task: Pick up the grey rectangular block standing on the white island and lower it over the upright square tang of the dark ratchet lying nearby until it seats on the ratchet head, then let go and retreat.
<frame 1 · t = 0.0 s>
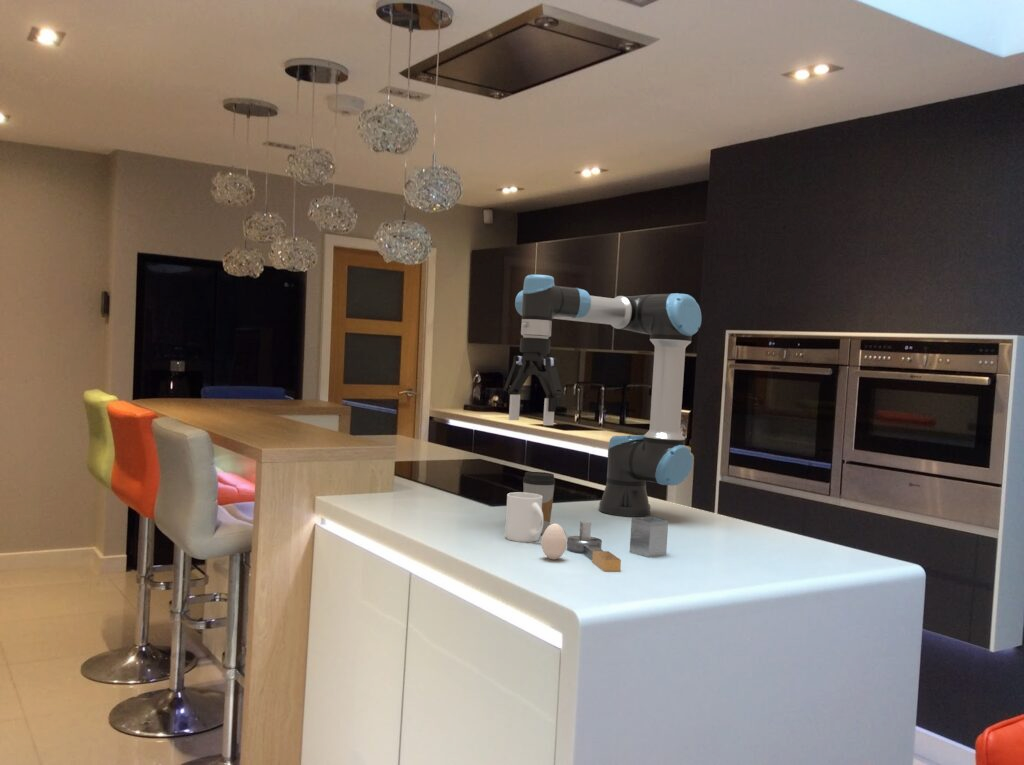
hand: (530, 422, 212), 28 cm above the countertop, fingers open, 13 cm apart
ratchet: (583, 550, 199), on the countertop
coffee cup: (536, 533, 216), on the countertop
grey rectangular block: (647, 553, 199), on the countertop
egg: (552, 560, 188), on the countertop
mug: (526, 541, 206), on the countertop
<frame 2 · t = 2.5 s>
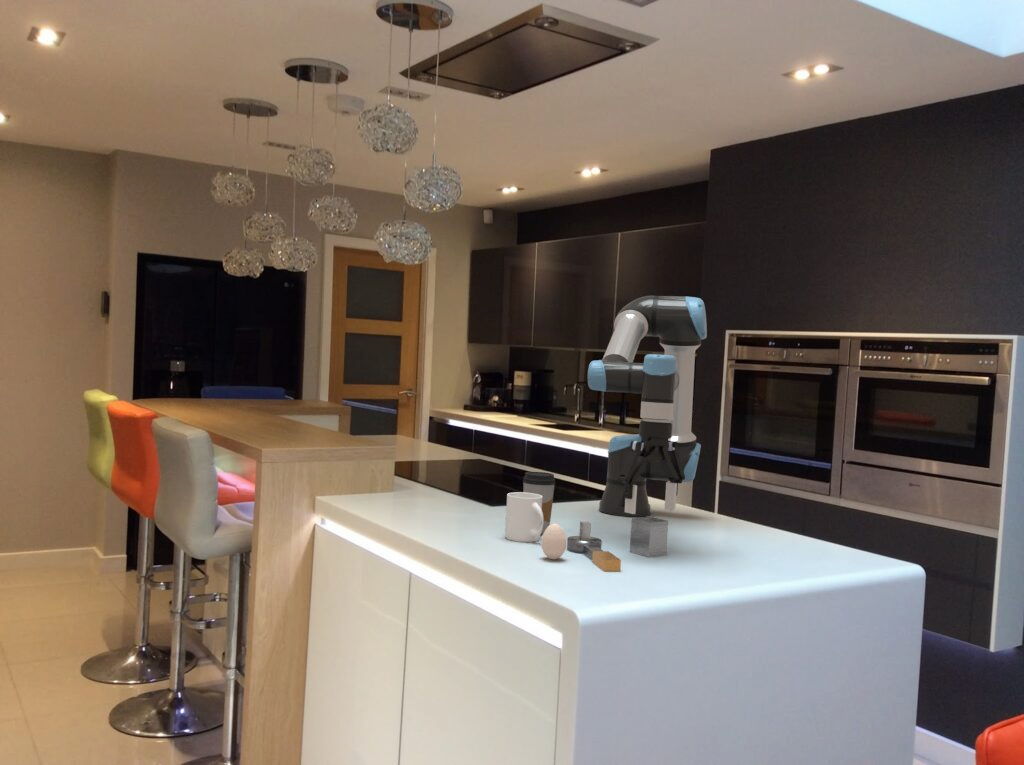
hand: (650, 511, 199), 10 cm above the countertop, fingers open, 13 cm apart
nothing on the countertop moved.
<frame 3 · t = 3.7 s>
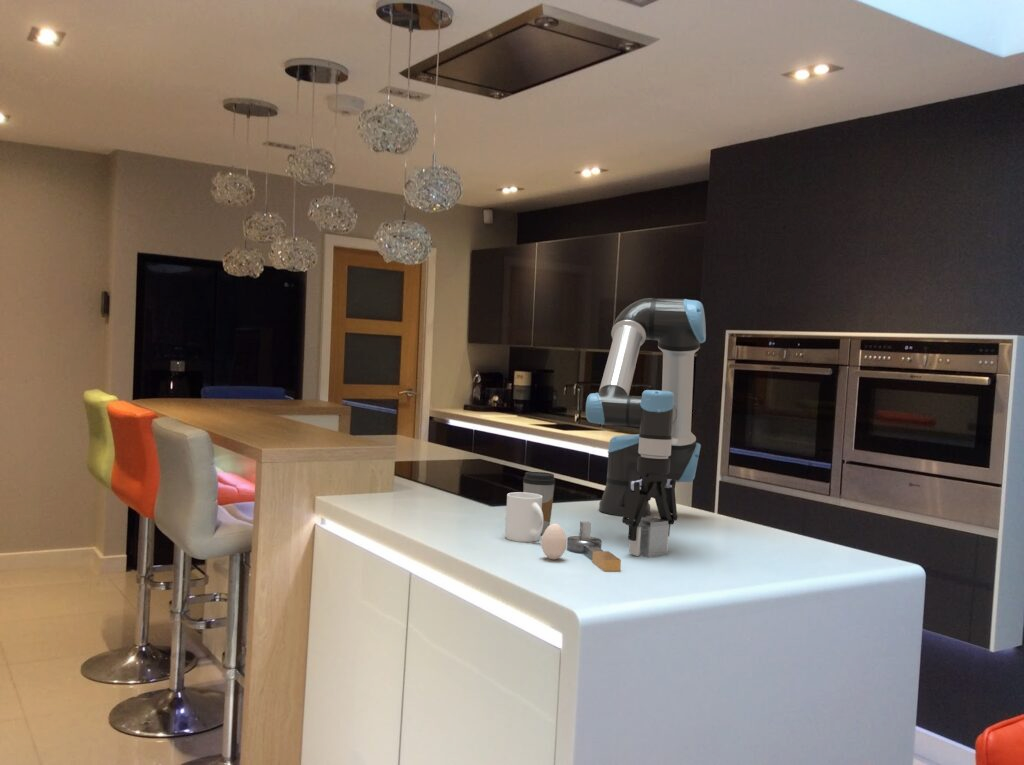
hand: (648, 552, 199), 0 cm above the countertop, fingers open, 9 cm apart
nothing on the countertop moved.
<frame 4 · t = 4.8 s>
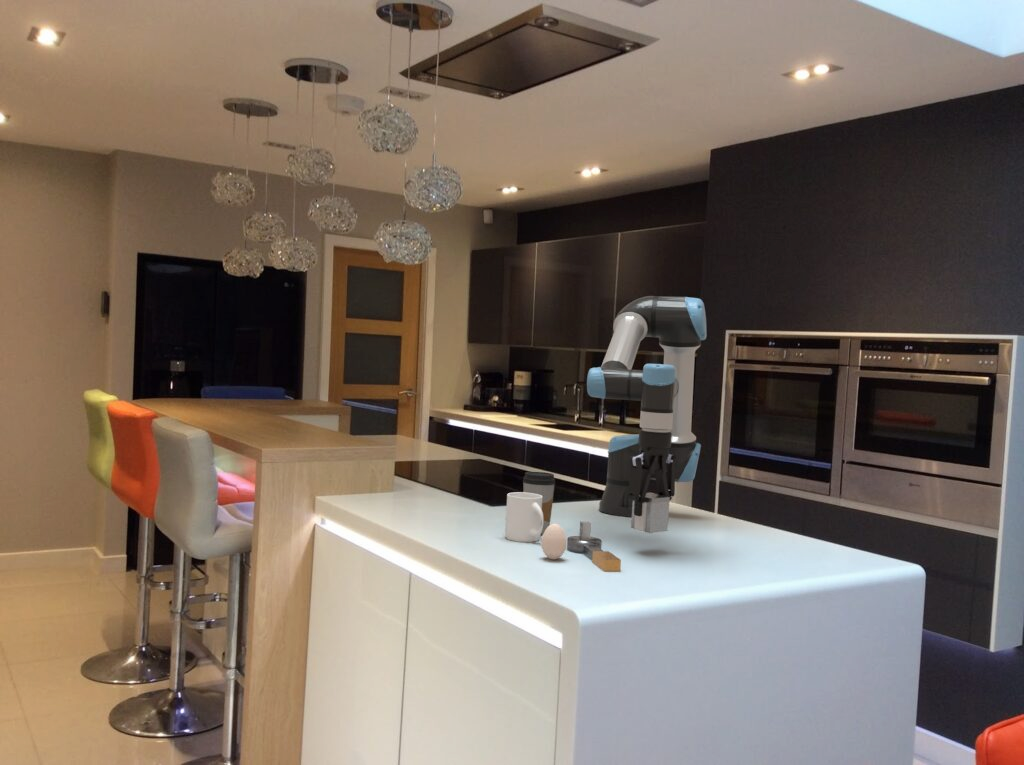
hand: (649, 527, 200), 6 cm above the countertop, fingers closed on grey rectangular block, 6 cm apart
grey rectangular block: (649, 529, 200), point 6 cm above the countertop, touching gripper
everything else where it was.
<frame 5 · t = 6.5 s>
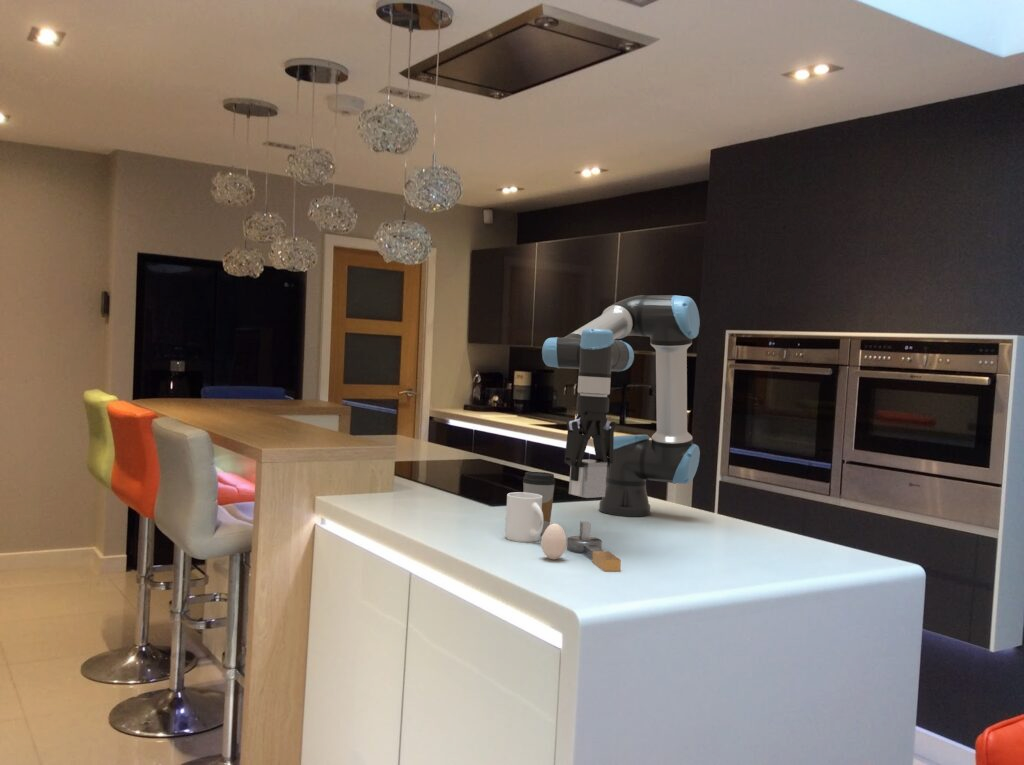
hand: (587, 494, 199), 13 cm above the countertop, fingers closed on grey rectangular block, 6 cm apart
grey rectangular block: (586, 495, 199), point 13 cm above the countertop, touching gripper
everything else where it was.
when the fingers open (3 cm above the countertop, at t = 8.4 s): grey rectangular block stays where it is, resting on ratchet.
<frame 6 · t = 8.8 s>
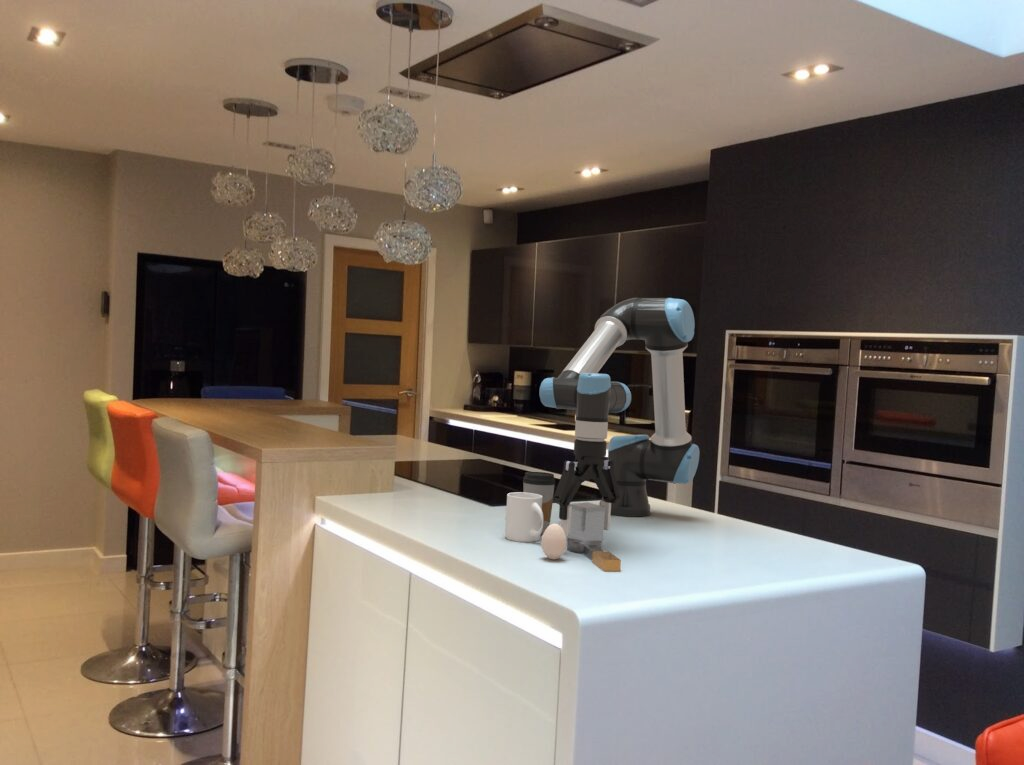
hand: (585, 531, 199), 4 cm above the countertop, fingers open, 12 cm apart
grey rectangular block: (584, 539, 199), point 2 cm above the countertop, touching ratchet
everything else where it was.
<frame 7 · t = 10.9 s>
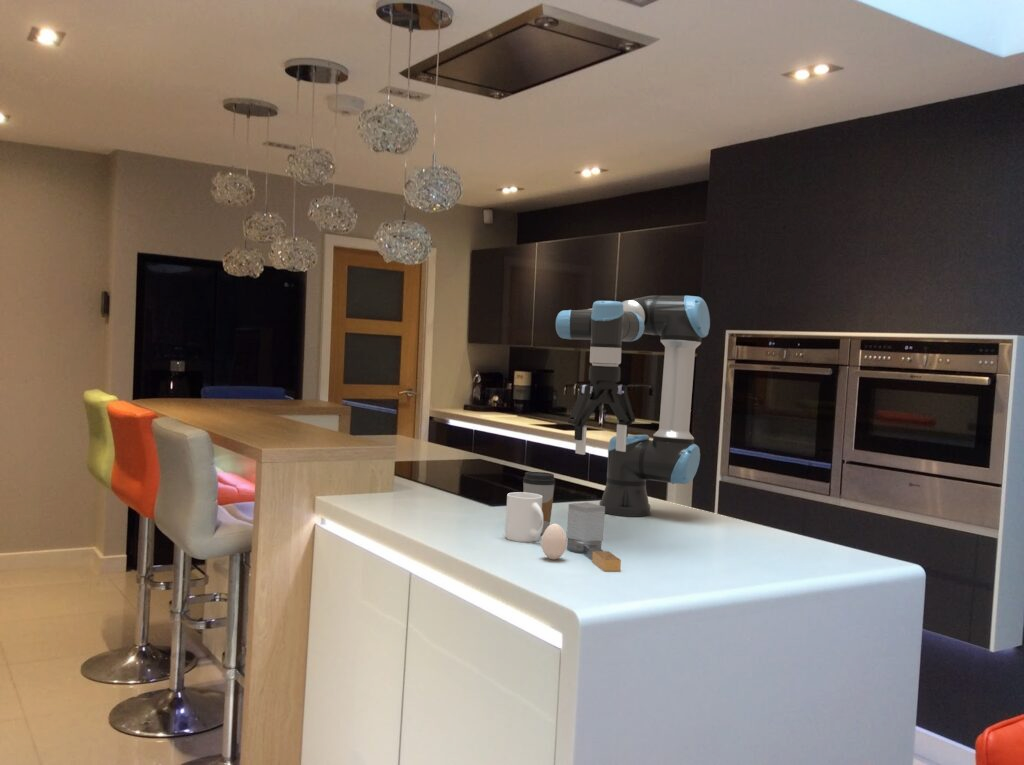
hand: (600, 452, 207), 22 cm above the countertop, fingers open, 13 cm apart
nothing on the countertop moved.
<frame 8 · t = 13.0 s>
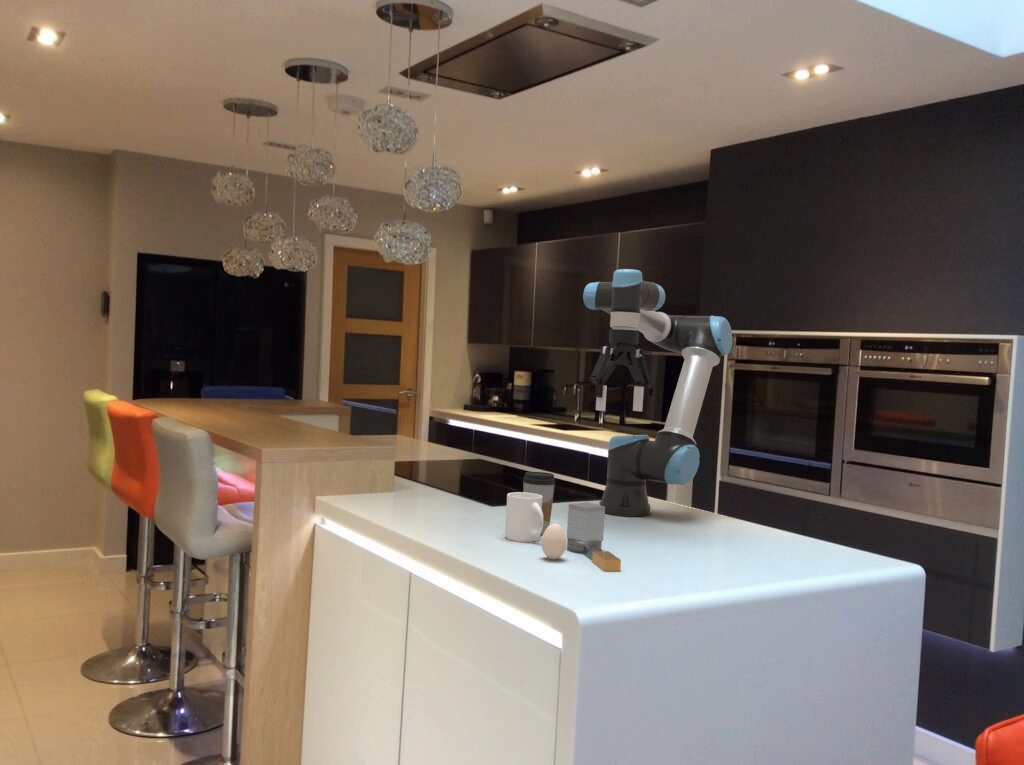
hand: (619, 410, 222), 32 cm above the countertop, fingers open, 13 cm apart
nothing on the countertop moved.
at the end: grey rectangular block 0.1 cm off-centre on the ratchet, point 2.5 cm above the ratchet's base; grey rectangular block tilted 0°; the gripper is holding nothing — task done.
